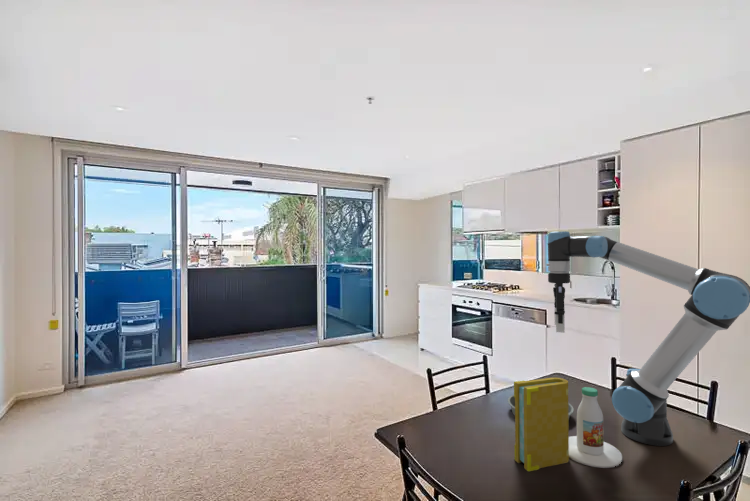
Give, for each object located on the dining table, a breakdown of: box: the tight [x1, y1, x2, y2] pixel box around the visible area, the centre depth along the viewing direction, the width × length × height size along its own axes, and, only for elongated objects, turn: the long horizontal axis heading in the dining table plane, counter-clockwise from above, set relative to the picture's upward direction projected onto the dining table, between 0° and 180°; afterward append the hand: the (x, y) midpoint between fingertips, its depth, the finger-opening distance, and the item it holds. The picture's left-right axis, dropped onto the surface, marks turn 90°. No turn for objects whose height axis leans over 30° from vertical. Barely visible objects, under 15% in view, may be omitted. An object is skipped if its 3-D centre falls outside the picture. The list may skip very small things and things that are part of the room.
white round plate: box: [569, 435, 623, 469], centre depth 128 cm, size 18×18×1 cm
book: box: [513, 377, 570, 472], centre depth 124 cm, size 17×7×25 cm, turn 106°
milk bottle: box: [576, 386, 605, 455], centre depth 128 cm, size 8×8×20 cm
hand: (559, 328), depth 148 cm, fingers open, 13 cm apart
